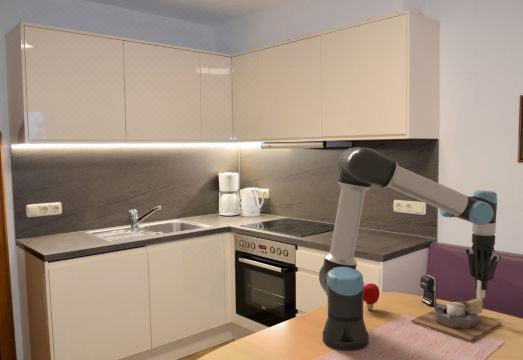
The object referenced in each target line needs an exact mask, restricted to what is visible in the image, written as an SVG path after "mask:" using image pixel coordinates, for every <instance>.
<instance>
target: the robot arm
mask: <svg viewBox="0 0 523 360" xmlns="http://www.w3.org/2000/svg"><path fill="white" fill-rule="evenodd" d="M338 171H339V174H338V179H337V184H338V185H339V186H340V193H339V198H338V204H337V211H336V216H335V219H334V220H335V222H334V227H333V233H332V238H331V244H330V249H329V253H327V254H326V255H325V256H324V259H323V264H322V266H321V267H320V270H319V273H318V281H319V283H320V286H321V288H322V289H323V291H324V293H325V294H326V296H327V318H326V321H325V325H324V328H323V331H322V342H323V343H324V345H326V346H327V347H330V348H332V349H335V350H341V351H356V350H357V351H358V350H361V349H364V348H366V347H367V346H369V343H370V337H369V336H370V335H369V333H368V331H367V328H366V324H365V319H364V301H363V287H364V286H365V282H364V276H363V274H362V273H361V272H360V270H358V269H357V264H358V262H357V261H356V259H355V257H354V256H355V251H356V247H357V246H356V244H357V240H358V235H359V229H360V224H361V219H362V212H363V207H364V202H365V197H366V192H367V191H369V190H370V189H371V187H372V185H374V186H377V187H378V188H379V187H380V188H382V189H387V188H389V189H392V190H395V191H397V192H399V193H401V194H404V195H406V196H408V197H411V198H413V199H415V200H418V201H421V202H422V203H425V204H427V205H430V206H432V207H434V208H437V209H439V212H440V215H441V216H442V217H444V218H450V219H451V218H458V219H460V220H464V221H467V222H469V223H472V229H471V231H472V235H471V243H472V245H471V247H470V248H468V249H466V250H465V253H466V256H467V259H468V266H469V267H468V268H469V272H470V273H469V274H470V276H471V277H473V278H474V280H475V283H474V284H475V285H474V287H475V288H476V295H475V296H476V297H475V299H476V298H479V299H486V290H487V289H488V281H493V280H494V276H495V274H496V272H497V271H496V270H497V267H498V263H499V261H500V260H501V258H502V257H501V256H500V255H498V254H496V251H495V248H494V247H495V245H496V235H495V234H496V230H497V228H496V227H497V225H496V224H497V212H498V211H497V209H498V194H497V193H496V192H495V191H492V190H475V191H474V192H473V195H470V196H468V195H466V194H464V193H462V192H459V191H457V190H455V189H452V188H450V187H449V186H446V185H443V184H441V183H439V182H436V181H434V180H432V179H429V178H427V177H425V176H423V175H420V174H417V173H415V172H413V171H411V170H409V169H407V168H404V167H402V166H399V164H398V162H397V160H393V159H391V158H389V157H388V156H385V155H383V154H381V153H380V152H378V151H377V150H374V149H372V148H369V147H358V146H357V147H354V146H353V147H350V148H348V149H347V150H345V151H344V152H343V153H342V154H341V156H340V157H339V160H338Z"/></svg>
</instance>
